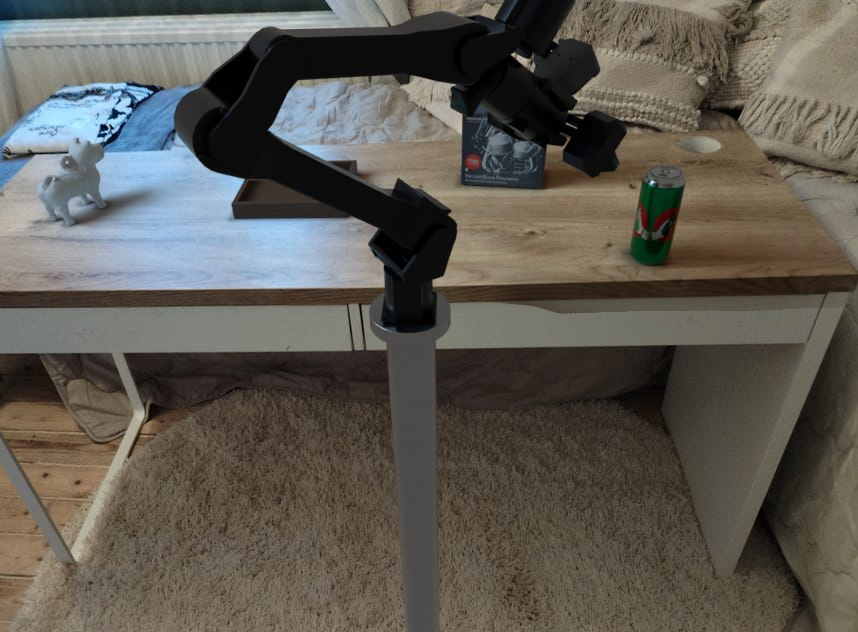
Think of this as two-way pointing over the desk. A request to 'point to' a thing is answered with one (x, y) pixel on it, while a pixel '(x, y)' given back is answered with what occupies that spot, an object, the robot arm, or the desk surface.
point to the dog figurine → (73, 180)
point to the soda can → (657, 214)
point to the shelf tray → (282, 199)
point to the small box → (498, 156)
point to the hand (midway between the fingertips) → (589, 154)
